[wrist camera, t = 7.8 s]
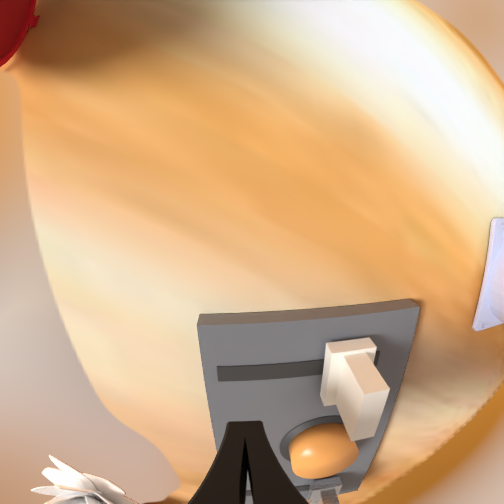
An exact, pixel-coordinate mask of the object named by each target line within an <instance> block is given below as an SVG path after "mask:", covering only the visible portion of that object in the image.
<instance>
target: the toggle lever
mask: <svg viewBox="0 0 504 504" xmlns="http://www.w3.org/2000/svg"><path fill="white" fill-rule="evenodd" d="M376 348H377V347H376V345H375V344H374V343H373V341H372V340H371V339H370V338H369V337H368V338H361V339H353V340H346V341H338V342H329V343H326V349H325V358H324V367H323V375H322V383H321V391H320V397H321V399H322V402H323V405H324V406H330V405H336V406H337V408H338V411H339V413H340V416H341V418H342V421H343V423H344V426H345V428H346V431H347V433H348V436H349V438H350V441H351V442H352V441H356V440H361V439H365V438H369V437H373V436H374V435H375V432H376V429H377V427H378V424H379V421H380V418H381V415H382V412H383V409H384V406H385V403H386V400H387V397H388V394H389V390H390V388H389V387H388V385H387V384H386V382H385V381H384V379H383V378H382V376H381V375H380V373H379V372H378V370H377V369H376V367H375V366H374V364H373V363H374V358H375V353H376Z"/></svg>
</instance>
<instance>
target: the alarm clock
mask: <svg viewBox="0 0 504 504" xmlns="http://www.w3.org/2000/svg"><path fill="white" fill-rule="evenodd" d="M35 5H36V0H0V67H1V66H2V65H4V64H5V63H6V62H7V61H8V60H9V59H10V58H11V57H12V56H13V55H14V53H15V52H16V51H17V49H18V48H19V46H20V45H21V43H22V41H23V39H24V37H25V35H26V32H27V30H28V27H29V26H30V27H31V28H32V27H36V25H37V22H38V19H39V16H36V17H35V16H34V15H33V13H34V9H35Z"/></svg>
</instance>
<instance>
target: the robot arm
mask: <svg viewBox="0 0 504 504" xmlns="http://www.w3.org/2000/svg"><path fill="white" fill-rule="evenodd" d="M503 323H504V218H497V217H496V218H494V219H493V220H492V222H491V229H490V238H489V246H488V254H487V260H486V267H485V272H484V278H483V283H482V288H481V293H480V297H479V302H478V306H477V310H476V314H475V318H474V321H473V326H472V328H473V329H474V330H475V331H481V330H484V329H487V328H490V327H494V326H497V325H500V324H503ZM247 473H248V475H249V482H250V488H251V494H252V500H253V504H309V503H308V502H307V500H306V499H305V498H304V497H303V496H302V495H301V493H300V492H299V491H298V490H297V488H296V487H295V486H294V485H293V483H292V482H291V480H290V479H289V477H288V476H287V474H286V473H285V471H284V470H283V468H282V466H281V465H280V463H279V461H278V459H277V457H276V456H275V454H274V452H273V450H272V448H271V445H270V443H269V441H268V438H267V436H266V433H265V429H264V426H263V422H262V421H260V420H257V421H229V422H228V423H227V424H226V430H225V433H224V437H223V440H222V443H221V445H220V448H219V450H218V453H217V455H216V457H215V460H214V462H213V464H212V466H211V468H210V470H209V471H208V473H207V475H206V477H205V479H204V481H203V482H202V484H201V485H200V487H199V489H198V490H197V491H196V493H195V494H194V496H193V497H192V499H191V500H190V501H189V502H188V504H245V502H246V488H247Z"/></svg>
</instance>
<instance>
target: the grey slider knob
mask: <svg viewBox="0 0 504 504" xmlns="http://www.w3.org/2000/svg"><path fill="white" fill-rule="evenodd" d="M341 487H342V483H341V479H340V476H338V477H333V478H328V479H322V480H316V481H311V482H310V486H309V490H308V494H307V497H306V500H307V502H308V503H309V504H339V501H338V497H337V496H338V494H339V492H340V490H341Z"/></svg>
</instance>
